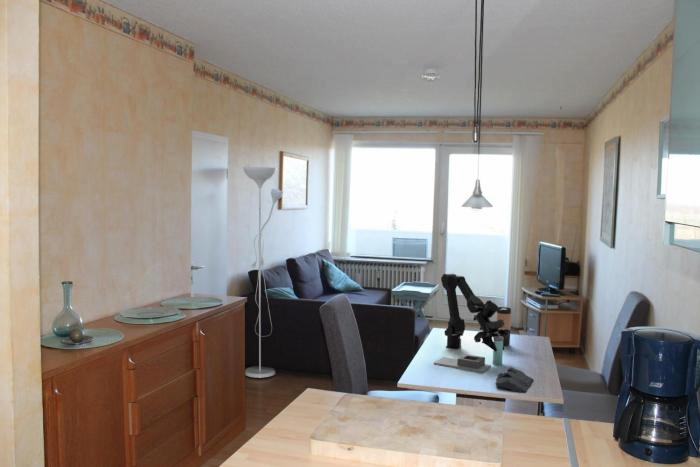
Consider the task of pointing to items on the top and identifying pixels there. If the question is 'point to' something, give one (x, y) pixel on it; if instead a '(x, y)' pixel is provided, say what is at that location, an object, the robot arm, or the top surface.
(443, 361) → the holder board
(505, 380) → the dark slate chunk
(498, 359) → the teal cylinder
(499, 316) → the travel mug
